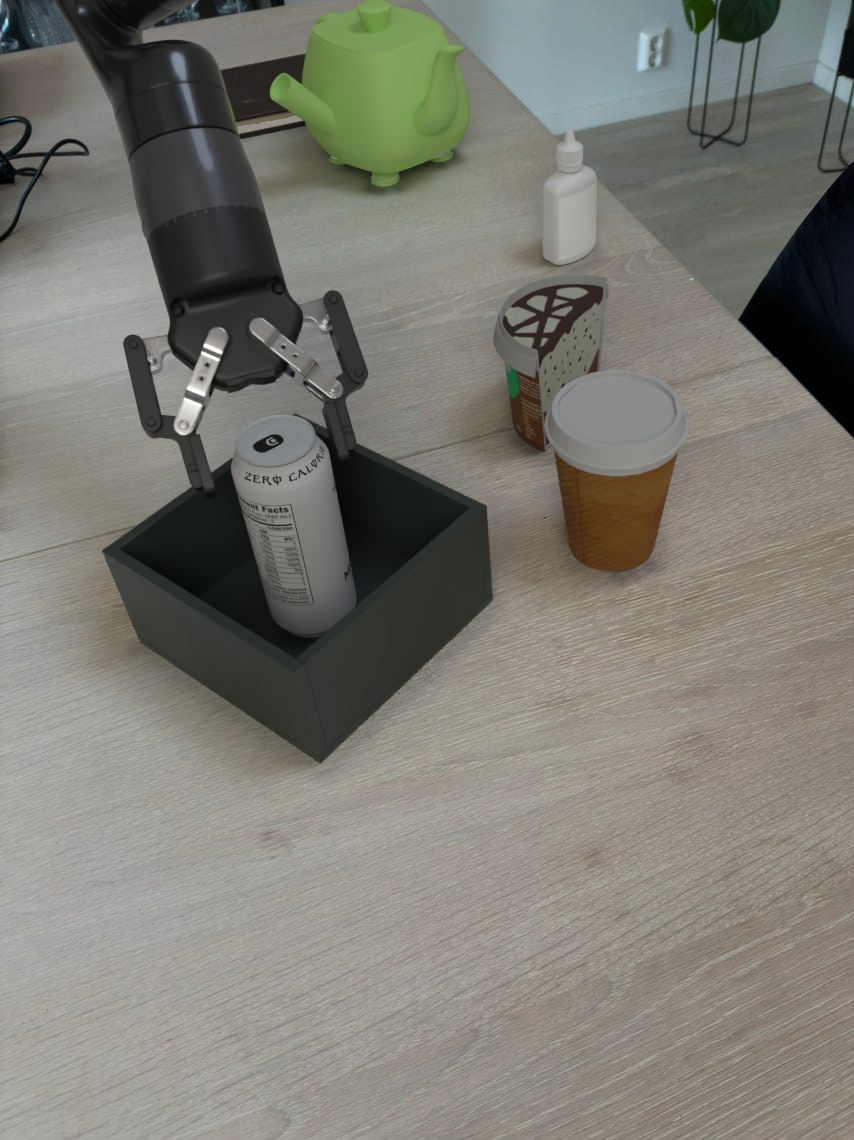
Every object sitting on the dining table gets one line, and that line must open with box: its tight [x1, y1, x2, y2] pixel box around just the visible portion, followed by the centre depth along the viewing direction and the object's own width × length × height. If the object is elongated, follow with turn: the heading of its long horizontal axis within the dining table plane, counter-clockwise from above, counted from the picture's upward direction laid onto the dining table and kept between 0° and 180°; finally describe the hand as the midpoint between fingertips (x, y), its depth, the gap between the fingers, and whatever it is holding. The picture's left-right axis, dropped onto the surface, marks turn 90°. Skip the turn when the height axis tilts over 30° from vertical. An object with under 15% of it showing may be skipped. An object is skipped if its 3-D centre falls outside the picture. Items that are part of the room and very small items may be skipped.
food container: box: [493, 273, 610, 453], centre depth 90 cm, size 12×6×10 cm, turn 149°
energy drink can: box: [231, 413, 357, 638], centre depth 73 cm, size 6×6×15 cm
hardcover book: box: [220, 52, 306, 140], centre depth 138 cm, size 16×23×2 cm
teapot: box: [270, 0, 471, 188], centre depth 119 cm, size 25×22×16 cm
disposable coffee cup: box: [544, 369, 690, 572], centre depth 78 cm, size 10×10×12 cm
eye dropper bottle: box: [541, 128, 598, 266], centre depth 106 cm, size 4×6×12 cm
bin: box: [101, 413, 494, 764], centre depth 76 cm, size 18×18×9 cm
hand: (279, 479), depth 71 cm, fingers open, 8 cm apart
